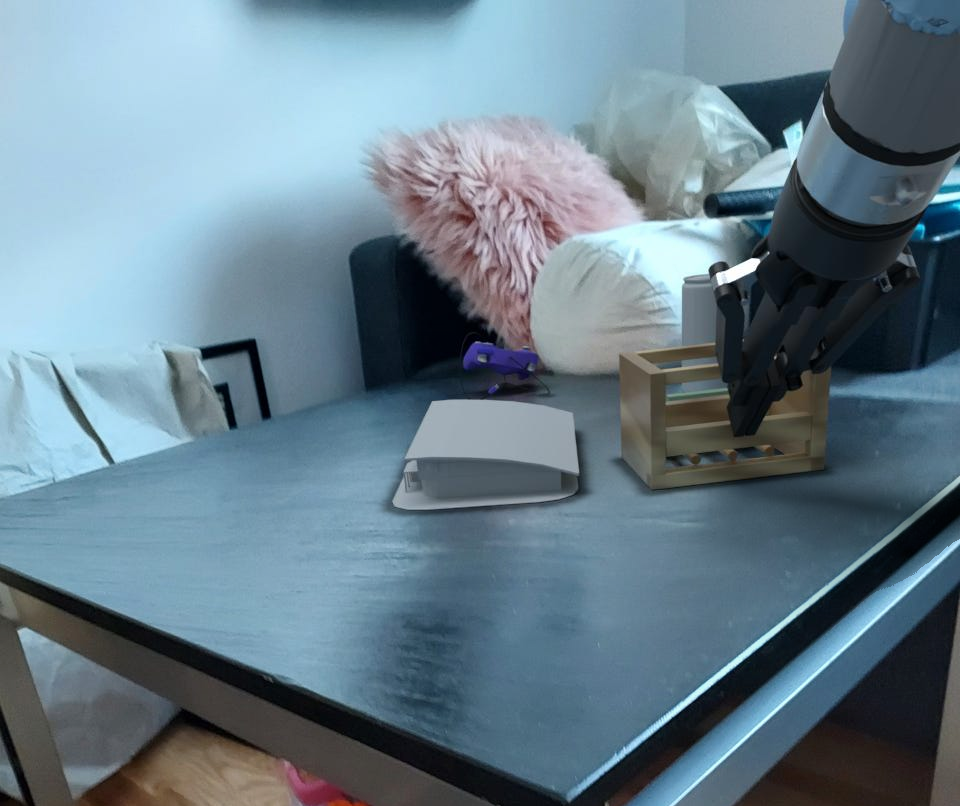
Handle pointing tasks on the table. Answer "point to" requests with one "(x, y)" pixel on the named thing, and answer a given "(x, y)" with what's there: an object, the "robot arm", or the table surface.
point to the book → (489, 456)
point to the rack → (713, 423)
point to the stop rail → (696, 394)
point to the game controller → (500, 362)
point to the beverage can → (699, 325)
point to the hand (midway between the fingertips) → (740, 420)
